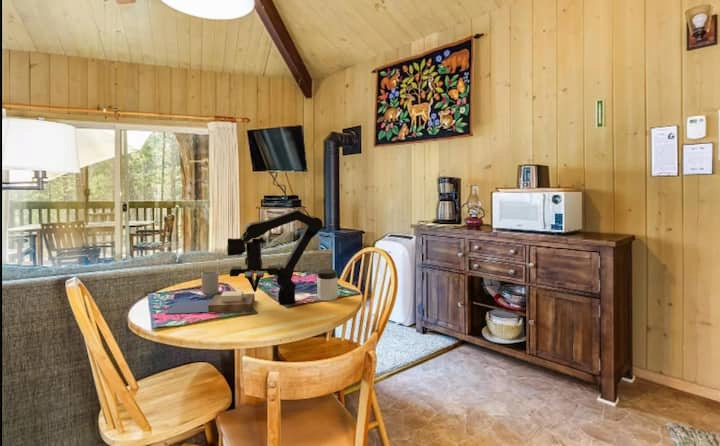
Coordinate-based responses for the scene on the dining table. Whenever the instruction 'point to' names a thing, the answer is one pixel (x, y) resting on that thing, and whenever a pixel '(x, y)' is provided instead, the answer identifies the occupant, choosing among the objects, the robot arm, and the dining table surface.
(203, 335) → the dining table surface
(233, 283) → the dining table surface
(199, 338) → the dining table surface
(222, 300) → the beige flat block
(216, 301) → the cutting board
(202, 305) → the felt mat
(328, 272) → the jar
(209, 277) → the cup
